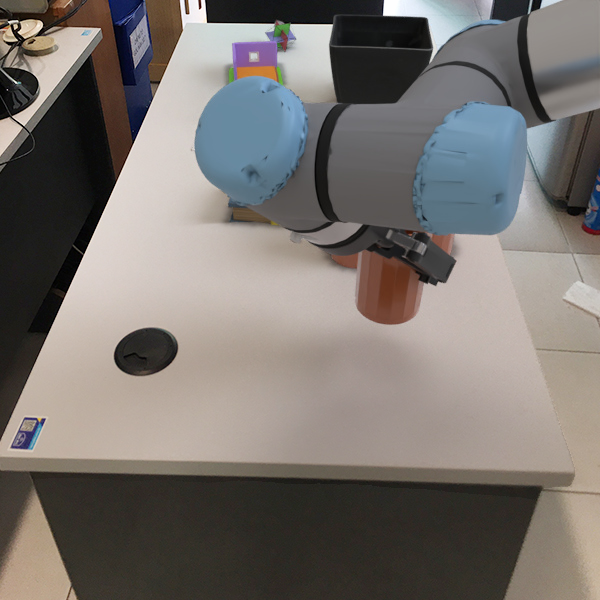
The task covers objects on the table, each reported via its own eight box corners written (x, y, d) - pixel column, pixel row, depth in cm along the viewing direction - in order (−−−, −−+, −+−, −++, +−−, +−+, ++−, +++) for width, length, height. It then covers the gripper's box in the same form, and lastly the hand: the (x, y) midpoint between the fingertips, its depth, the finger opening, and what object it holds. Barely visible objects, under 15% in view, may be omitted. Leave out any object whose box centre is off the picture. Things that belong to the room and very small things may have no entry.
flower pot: (331, 91, 139) (334, 11, 128) (417, 95, 138) (427, 15, 127) (325, 131, 125) (328, 45, 114) (421, 136, 124) (433, 49, 113)
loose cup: (427, 321, 70) (444, 233, 62) (362, 328, 69) (371, 239, 61) (409, 279, 76) (423, 193, 68) (349, 284, 75) (355, 198, 67)
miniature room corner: (228, 70, 148) (226, 40, 143) (279, 68, 149) (279, 38, 144) (229, 91, 139) (227, 60, 134) (283, 89, 140) (283, 58, 135)
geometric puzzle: (303, 44, 154) (294, 11, 153) (278, 49, 152) (268, 15, 151) (292, 54, 161) (283, 23, 160) (268, 59, 159) (258, 27, 157)
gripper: (219, 202, 56) (319, 256, 76) (421, 293, 47) (474, 327, 67) (255, 125, 56) (346, 200, 76) (466, 201, 47) (504, 264, 67)
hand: (406, 260), depth 72 cm, fingers closed on loose cup, 7 cm apart
